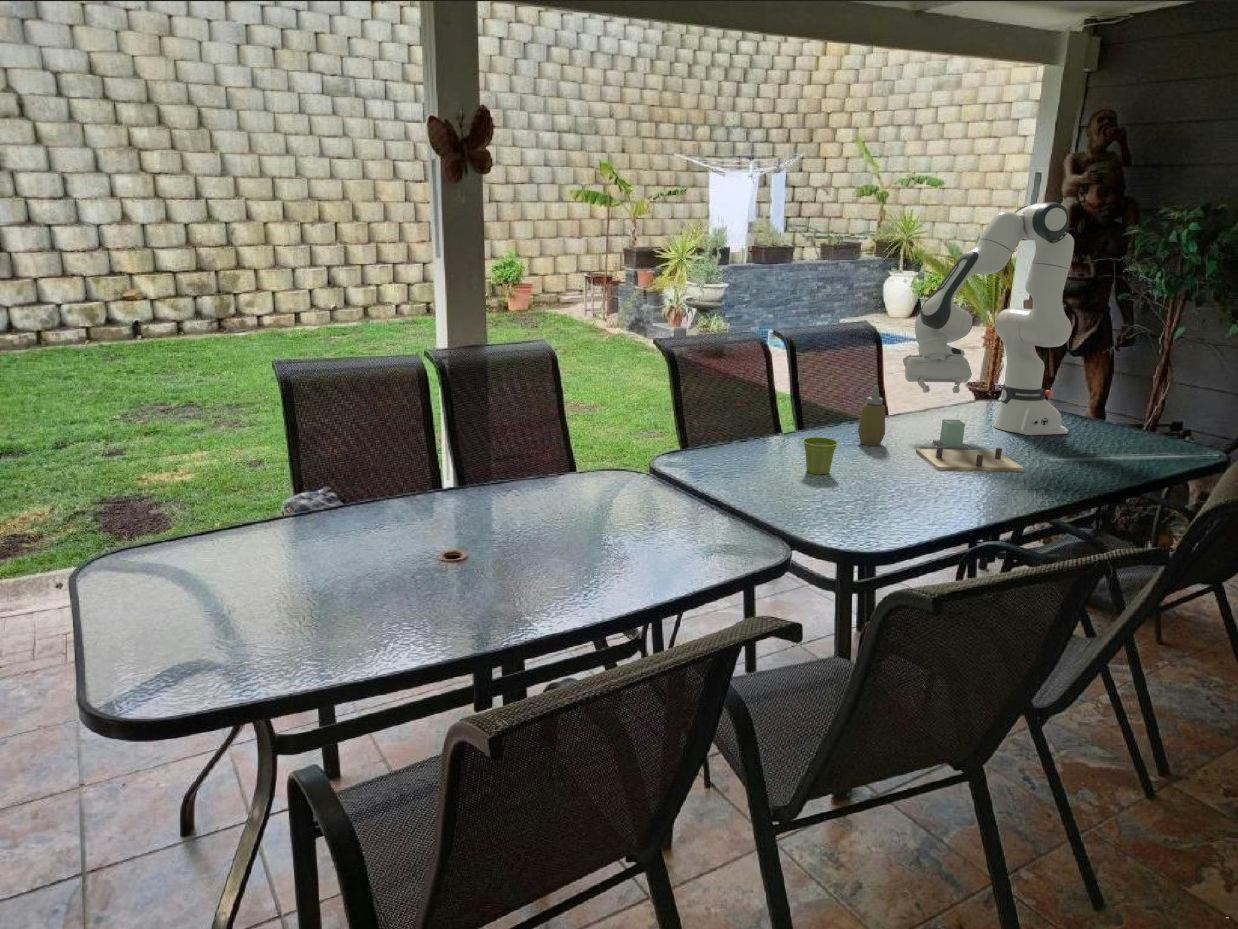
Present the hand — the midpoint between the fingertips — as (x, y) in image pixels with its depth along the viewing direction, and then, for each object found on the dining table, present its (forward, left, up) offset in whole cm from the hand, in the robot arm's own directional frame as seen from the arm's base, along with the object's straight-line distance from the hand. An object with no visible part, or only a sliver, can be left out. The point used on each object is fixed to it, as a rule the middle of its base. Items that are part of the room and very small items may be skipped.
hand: (941, 391), depth 271 cm
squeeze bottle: (+24, +10, -15) cm, 30 cm away
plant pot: (+47, +40, -15) cm, 64 cm away
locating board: (+1, +28, -14) cm, 32 cm away
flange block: (0, +12, -15) cm, 19 cm away
